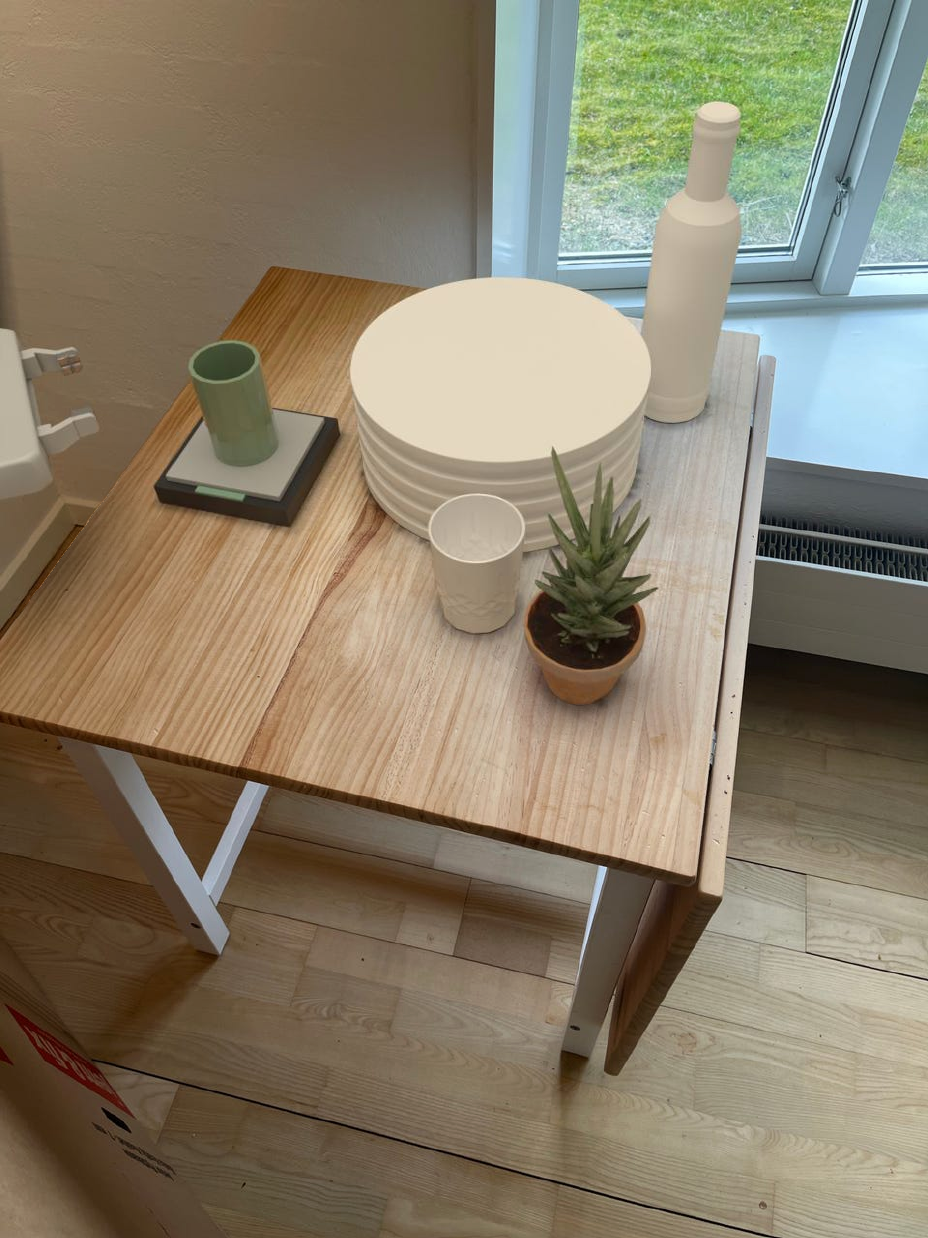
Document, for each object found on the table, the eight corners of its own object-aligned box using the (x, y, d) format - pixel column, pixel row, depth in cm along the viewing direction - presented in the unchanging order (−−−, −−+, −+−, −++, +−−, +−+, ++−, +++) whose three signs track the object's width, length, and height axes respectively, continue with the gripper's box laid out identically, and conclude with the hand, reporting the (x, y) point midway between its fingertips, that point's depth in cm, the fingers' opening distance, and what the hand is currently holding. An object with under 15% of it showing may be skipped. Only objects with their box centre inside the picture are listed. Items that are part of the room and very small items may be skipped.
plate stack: (559, 344, 109) (565, 251, 100) (689, 500, 92) (710, 406, 83) (327, 411, 102) (311, 318, 93) (423, 591, 86) (415, 500, 77)
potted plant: (503, 653, 81) (505, 429, 62) (600, 616, 84) (631, 389, 64) (557, 744, 76) (578, 528, 56) (660, 702, 78) (714, 480, 59)
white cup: (420, 624, 84) (412, 547, 76) (454, 562, 88) (450, 483, 80) (504, 650, 82) (504, 573, 74) (534, 585, 86) (538, 506, 78)
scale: (289, 527, 92) (284, 505, 89) (159, 502, 94) (151, 480, 92) (340, 434, 100) (336, 412, 98) (219, 413, 103) (213, 392, 100)
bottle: (645, 430, 99) (691, 136, 76) (621, 384, 104) (657, 95, 80) (717, 417, 100) (785, 123, 77) (690, 372, 105) (745, 84, 81)
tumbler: (224, 474, 92) (199, 391, 84) (206, 435, 96) (180, 352, 88) (287, 454, 94) (269, 370, 86) (267, 416, 98) (247, 332, 90)
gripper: (-91, 478, 71) (94, 428, 75) (-101, 335, 84) (59, 297, 87) (-53, 537, 76) (119, 487, 79) (-68, 394, 88) (82, 356, 92)
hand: (87, 387), depth 83 cm, fingers open, 8 cm apart
